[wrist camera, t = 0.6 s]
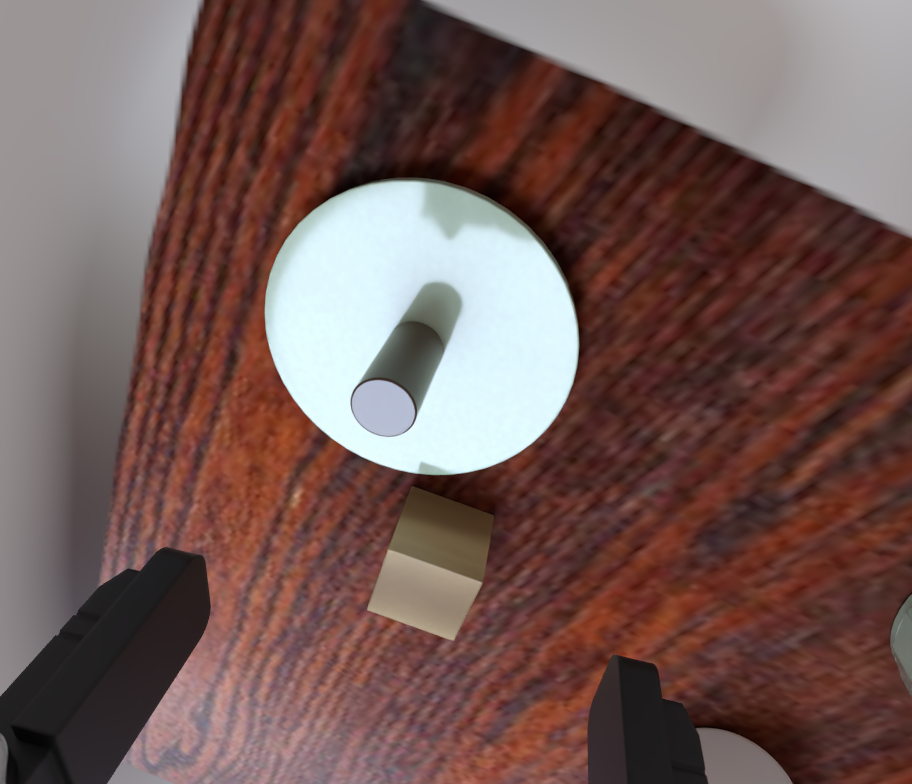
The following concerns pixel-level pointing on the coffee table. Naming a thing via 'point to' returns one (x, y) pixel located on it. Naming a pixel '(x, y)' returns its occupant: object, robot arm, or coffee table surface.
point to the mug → (737, 760)
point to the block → (433, 564)
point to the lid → (422, 326)
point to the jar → (903, 642)
